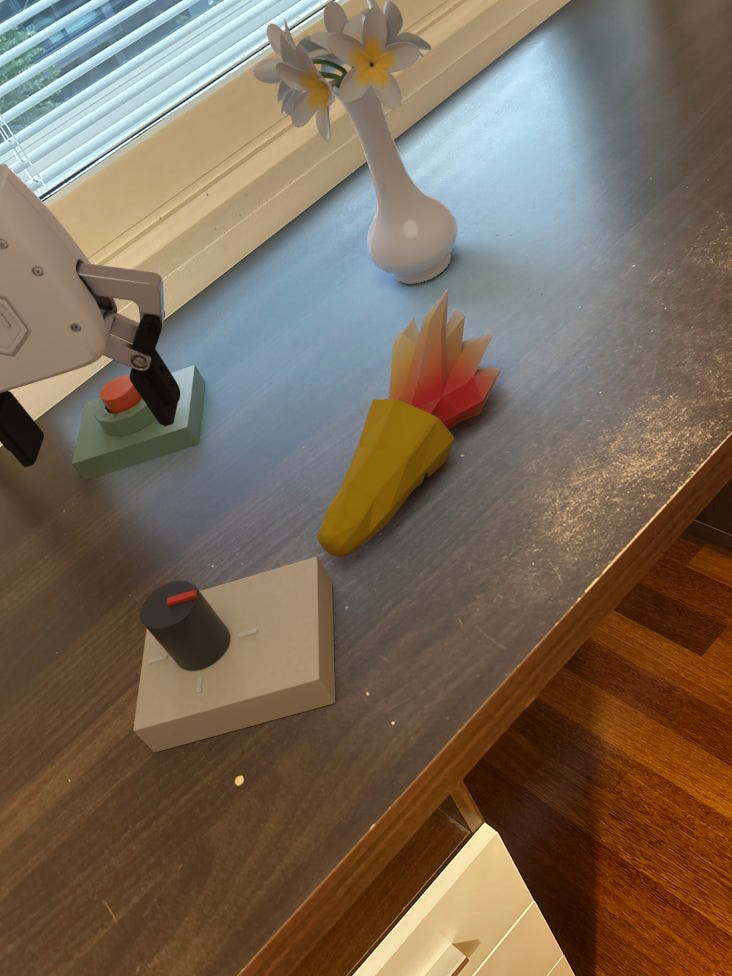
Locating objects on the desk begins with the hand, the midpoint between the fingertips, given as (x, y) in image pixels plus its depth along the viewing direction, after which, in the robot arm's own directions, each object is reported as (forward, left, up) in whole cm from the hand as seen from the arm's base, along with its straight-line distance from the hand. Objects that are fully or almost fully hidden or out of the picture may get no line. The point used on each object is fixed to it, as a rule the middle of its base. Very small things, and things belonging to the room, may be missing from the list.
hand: (102, 432), depth 65 cm
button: (-12, +30, -16) cm, 36 cm away
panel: (0, -4, -20) cm, 20 cm away
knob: (-2, -4, -17) cm, 17 cm away
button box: (-12, +30, -20) cm, 38 cm away
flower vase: (+17, +43, -20) cm, 50 cm away
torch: (+15, +13, -20) cm, 28 cm away
